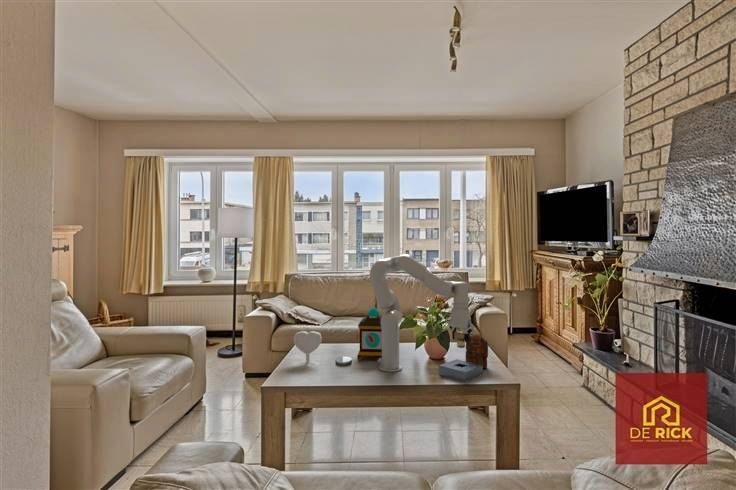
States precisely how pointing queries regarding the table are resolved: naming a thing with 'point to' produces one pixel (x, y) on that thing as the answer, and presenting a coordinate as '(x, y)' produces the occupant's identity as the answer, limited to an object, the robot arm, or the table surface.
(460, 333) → the bushing
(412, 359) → the table surface
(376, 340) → the decorative lantern
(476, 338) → the wooden figurine
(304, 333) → the heart sculpture
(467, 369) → the block
